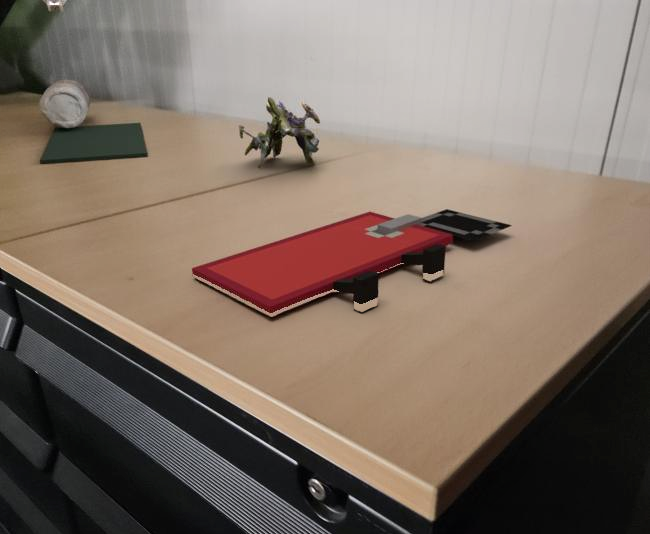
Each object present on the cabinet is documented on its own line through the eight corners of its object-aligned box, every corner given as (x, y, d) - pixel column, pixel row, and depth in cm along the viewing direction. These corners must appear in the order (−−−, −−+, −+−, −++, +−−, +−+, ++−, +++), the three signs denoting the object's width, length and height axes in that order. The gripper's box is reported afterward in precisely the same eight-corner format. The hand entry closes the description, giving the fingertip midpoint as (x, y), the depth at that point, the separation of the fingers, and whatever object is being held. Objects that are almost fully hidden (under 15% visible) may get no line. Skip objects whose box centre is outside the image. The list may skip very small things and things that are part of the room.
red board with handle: (527, 238, 63) (414, 209, 73) (531, 211, 61) (415, 185, 71) (302, 339, 45) (193, 282, 55) (301, 305, 44) (189, 253, 54)
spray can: (43, 76, 126) (33, 87, 109) (85, 75, 128) (82, 85, 111) (52, 119, 130) (43, 136, 113) (93, 117, 132) (90, 134, 115)
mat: (40, 164, 94) (39, 160, 94) (55, 130, 119) (54, 127, 119) (148, 156, 98) (147, 152, 98) (140, 125, 123) (140, 122, 123)
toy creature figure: (309, 199, 95) (339, 142, 86) (242, 195, 91) (266, 134, 81) (292, 145, 100) (319, 86, 91) (228, 139, 95) (249, 75, 86)
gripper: (-6, -55, 131) (-2, -3, 127) (95, -54, 136) (102, -4, 132) (2, -30, 137) (6, 21, 133) (99, -29, 142) (106, 19, 138)
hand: (55, 9), depth 133 cm, fingers closed
